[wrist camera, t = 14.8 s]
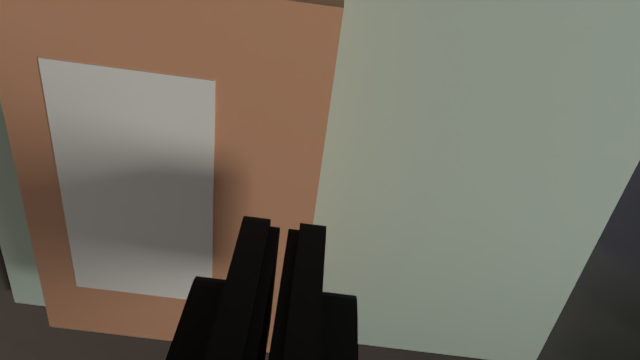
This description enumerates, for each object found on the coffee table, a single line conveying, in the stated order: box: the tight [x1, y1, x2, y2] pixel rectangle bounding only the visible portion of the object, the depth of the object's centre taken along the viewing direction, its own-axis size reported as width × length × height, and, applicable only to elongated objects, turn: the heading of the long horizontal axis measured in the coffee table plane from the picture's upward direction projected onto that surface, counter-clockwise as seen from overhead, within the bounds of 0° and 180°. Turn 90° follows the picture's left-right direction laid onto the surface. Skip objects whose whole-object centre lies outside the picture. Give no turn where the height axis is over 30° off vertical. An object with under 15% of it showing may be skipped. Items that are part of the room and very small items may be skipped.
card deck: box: [0, 0, 344, 353], centre depth 14 cm, size 2×10×7 cm
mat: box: [0, 0, 640, 360], centre depth 15 cm, size 18×14×1 cm
